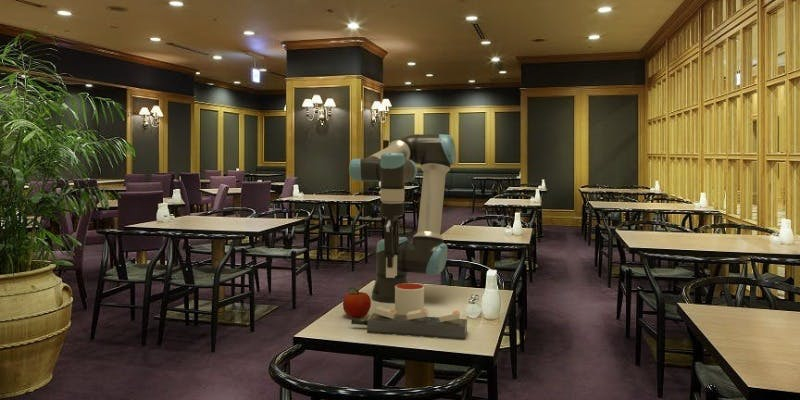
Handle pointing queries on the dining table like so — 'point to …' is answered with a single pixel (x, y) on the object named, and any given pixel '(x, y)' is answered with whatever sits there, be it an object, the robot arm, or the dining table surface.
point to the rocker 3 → (449, 316)
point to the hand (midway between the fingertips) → (391, 276)
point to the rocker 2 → (417, 314)
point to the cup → (408, 298)
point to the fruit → (356, 304)
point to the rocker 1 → (385, 312)
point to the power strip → (415, 326)
